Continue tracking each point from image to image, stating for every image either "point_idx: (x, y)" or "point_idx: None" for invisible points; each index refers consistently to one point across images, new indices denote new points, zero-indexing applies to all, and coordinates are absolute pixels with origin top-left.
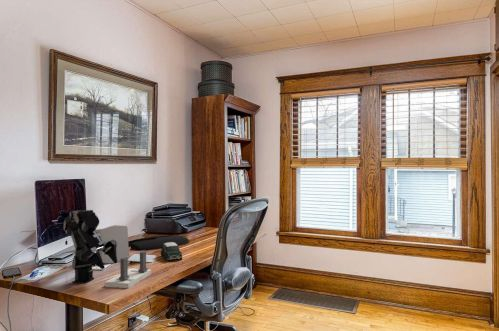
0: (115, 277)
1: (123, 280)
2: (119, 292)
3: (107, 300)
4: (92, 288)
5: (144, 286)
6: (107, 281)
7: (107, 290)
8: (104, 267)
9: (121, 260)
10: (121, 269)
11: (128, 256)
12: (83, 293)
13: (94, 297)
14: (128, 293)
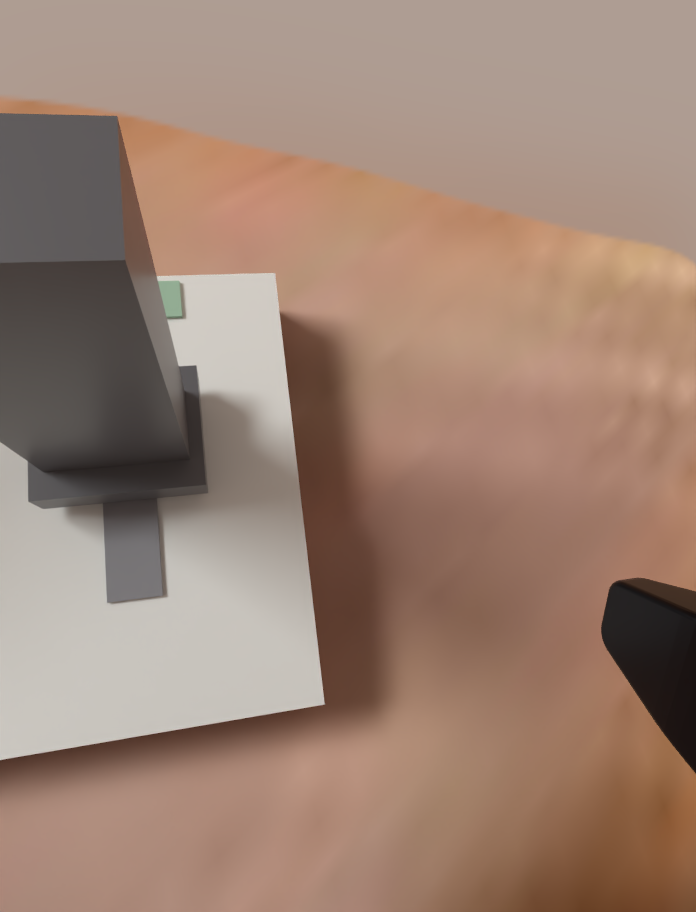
0: (32, 702)
1: None
2: (432, 334)
3: (663, 318)
4: (438, 834)
5: (147, 150)
6: (288, 677)
7: (428, 534)
8: (628, 583)
9: (132, 253)
10: (173, 380)
11: None
12: (634, 787)
13: (666, 521)
14: (422, 216)
